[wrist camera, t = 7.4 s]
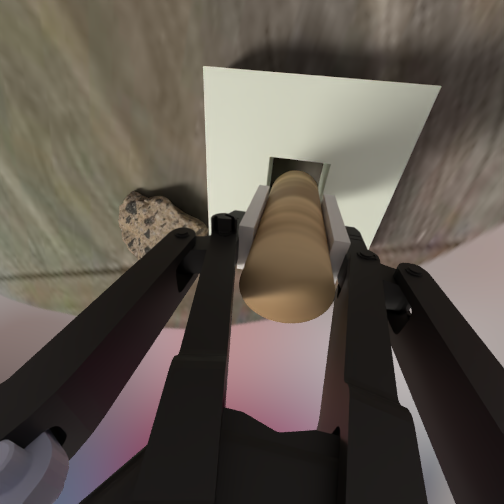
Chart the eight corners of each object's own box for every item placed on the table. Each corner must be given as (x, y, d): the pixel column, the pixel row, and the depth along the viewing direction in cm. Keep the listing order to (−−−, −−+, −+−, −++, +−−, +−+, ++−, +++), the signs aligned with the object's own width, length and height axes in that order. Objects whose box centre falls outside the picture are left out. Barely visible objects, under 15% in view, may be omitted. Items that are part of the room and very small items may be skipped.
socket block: (221, 72, 20) (203, 66, 16) (413, 88, 18) (441, 86, 15) (221, 230, 29) (209, 249, 25) (349, 251, 27) (356, 275, 24)
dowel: (274, 167, 18) (241, 244, 9) (323, 173, 18) (348, 262, 8) (268, 212, 21) (237, 313, 11) (312, 219, 20) (321, 330, 11)
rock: (140, 166, 26) (115, 177, 23) (219, 222, 29) (208, 239, 25) (119, 228, 32) (97, 243, 29) (186, 270, 34) (173, 289, 31)
